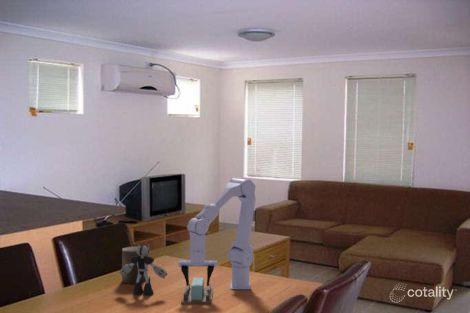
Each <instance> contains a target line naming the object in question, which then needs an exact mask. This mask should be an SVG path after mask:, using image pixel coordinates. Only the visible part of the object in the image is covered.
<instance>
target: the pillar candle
mask: <svg viewBox="0 0 470 313" xmlns="http://www.w3.org/2000/svg"><path fill="white" fill-rule="evenodd" d="M136 249H138V246H134V245H133V246H127V247H123V248H122V249H121V269H122V268H123V267H124V266H125V265H126V264H131V263H132V262H131V258H132V257H133V256H139V255H138V254H136ZM140 257H141V256H140ZM135 275H136V278H137V276H138V267H137V263H136V264H134V265H133V266H132V269H131V271H130V272H129V273H127V274H126V275H124V276H122V275H121V280H122V281H121V282H122V283H124V284H128V285H135V282H136V279H135ZM141 278H142V279H140V280H141V282H140V283H141V284H142V283H145V280H144V275H142V276H141Z"/></svg>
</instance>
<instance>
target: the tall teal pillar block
mask: <svg viewBox="0 0 470 313" xmlns="http://www.w3.org/2000/svg"><path fill="white" fill-rule="evenodd" d="M204 283H205V280H204V277H193V279H192V282H191V284H190V288H191V300H202V297H203V292H204V288H205V287H204V285H205V284H204Z"/></svg>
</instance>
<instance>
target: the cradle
mask: <svg viewBox="0 0 470 313" xmlns="http://www.w3.org/2000/svg"><path fill="white" fill-rule="evenodd" d="M213 291H214V288H213V287H212V284H211V283H209V286H207V285H206V287H204V292H203V297H202V300H191V283H189V286H187V285H186V286H185V288H184V291H183V294H182V298H181V301H180V305H212V300H213Z"/></svg>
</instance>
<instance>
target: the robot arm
mask: <svg viewBox="0 0 470 313" xmlns="http://www.w3.org/2000/svg"><path fill="white" fill-rule="evenodd" d="M255 193H256V185H255V183H254V182H253V181H252V180H251V179H249V178H248V179H246V178H245V179H244V178H237V177H233V178H231V179H230V180H229V181H228V182H227V183H226V185H225V188H224V189H223V190H222V192H221V193H220V194H218V197H217V198H216V199H214V201H213V202H212V203H207V204H205V205H204V206H203V209H202V210H200V212H199V213H198V214H196V216H195V217H192V218H191V219H190V220H189V221H188V223H187V225H186V229H187V231H188V234H189V239H190V240H189V255H190V256H189V259H186V260H179V261H178V263H177V264H178V265H177V266H178V268H180V270H181V273H182V274H183V277H184V280H185V282H186V283H185V284H186V286H189V284H190V278H189V271H190V270H189V269H190V268H191V267H193V268H194V267H197V268H198V267H201V268H202V267H204V268H205V267H206V275H207V276H206V279H207V280H206V287H207V286H209V284H210V281H211V277H212V274H213V272H214V269H215V268H217V267H218V261H217V260H209V259H206V233H208V231H209V226H210V225H211V223H213V221H215V219H216V218H217V217H218V216H219V214H220V209H222V208H223V206H224V205H225V204H227V203H228V202H229V201H230V200H231V199H232V198H234V197H235V198H236V197H237V198H238V200H239V201H240V202H241V205H240V210H239V215H238V224H237V230H236V237H235V240H234V241H233V242H232V243H231V245H230V249H229V250H228V253H227V258H228V260H229V261H230V265H231V281H230V290H251V281H250V267H251V264H252V263H253V262H254V254H253V252H254V247H253V246H252V244H251V243H250V239H251V233H252V226H253V219H254V212H255V208H256V207H255V205H256V194H255ZM189 267H190V268H189Z"/></svg>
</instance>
